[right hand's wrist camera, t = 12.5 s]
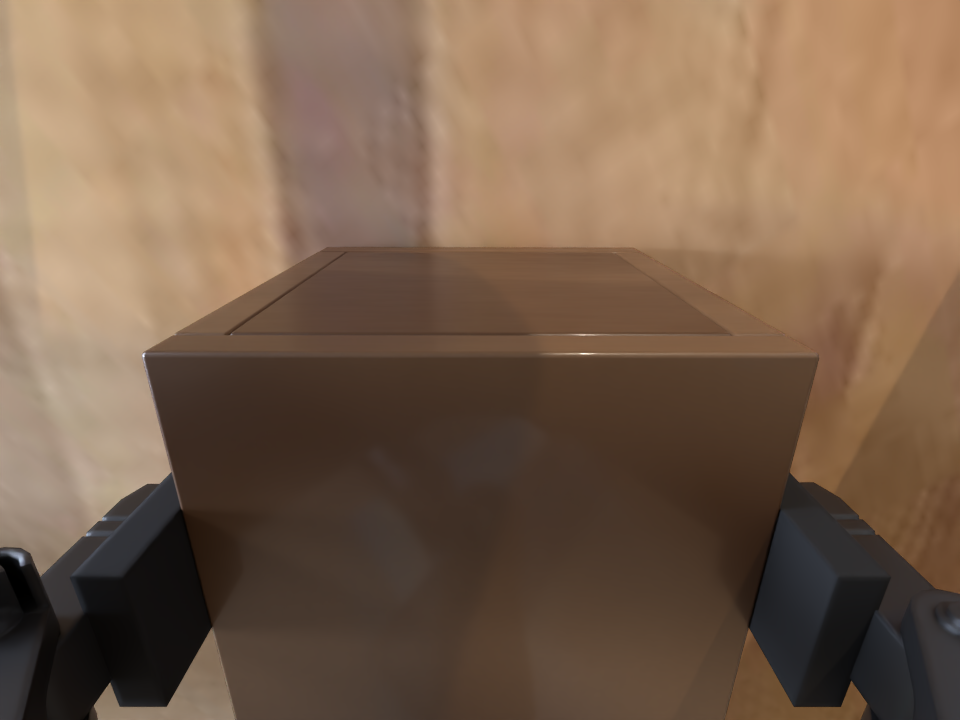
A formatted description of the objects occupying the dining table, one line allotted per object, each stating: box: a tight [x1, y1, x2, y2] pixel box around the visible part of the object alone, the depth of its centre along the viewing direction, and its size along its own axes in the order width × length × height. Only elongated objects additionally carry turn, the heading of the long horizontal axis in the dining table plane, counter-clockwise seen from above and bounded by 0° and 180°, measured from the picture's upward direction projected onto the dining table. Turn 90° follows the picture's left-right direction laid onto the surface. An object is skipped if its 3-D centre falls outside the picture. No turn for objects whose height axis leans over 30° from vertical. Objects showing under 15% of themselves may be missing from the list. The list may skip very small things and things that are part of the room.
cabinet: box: [142, 247, 819, 720], centre depth 16 cm, size 21×10×10 cm, turn 0°
